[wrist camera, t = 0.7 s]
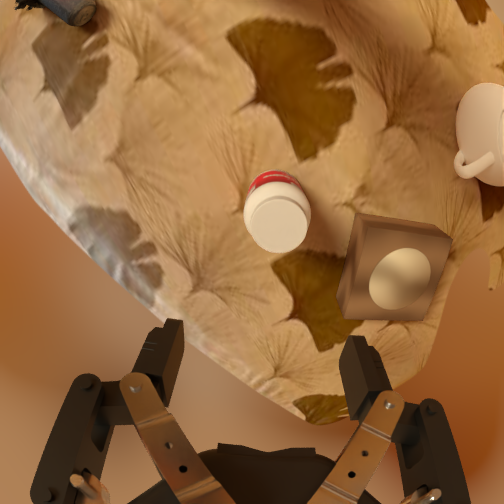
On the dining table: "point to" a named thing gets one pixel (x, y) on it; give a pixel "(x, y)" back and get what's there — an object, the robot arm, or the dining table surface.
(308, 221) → the pill bottle
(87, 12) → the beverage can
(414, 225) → the pedestal
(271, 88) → the dining table surface
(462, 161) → the teapot
